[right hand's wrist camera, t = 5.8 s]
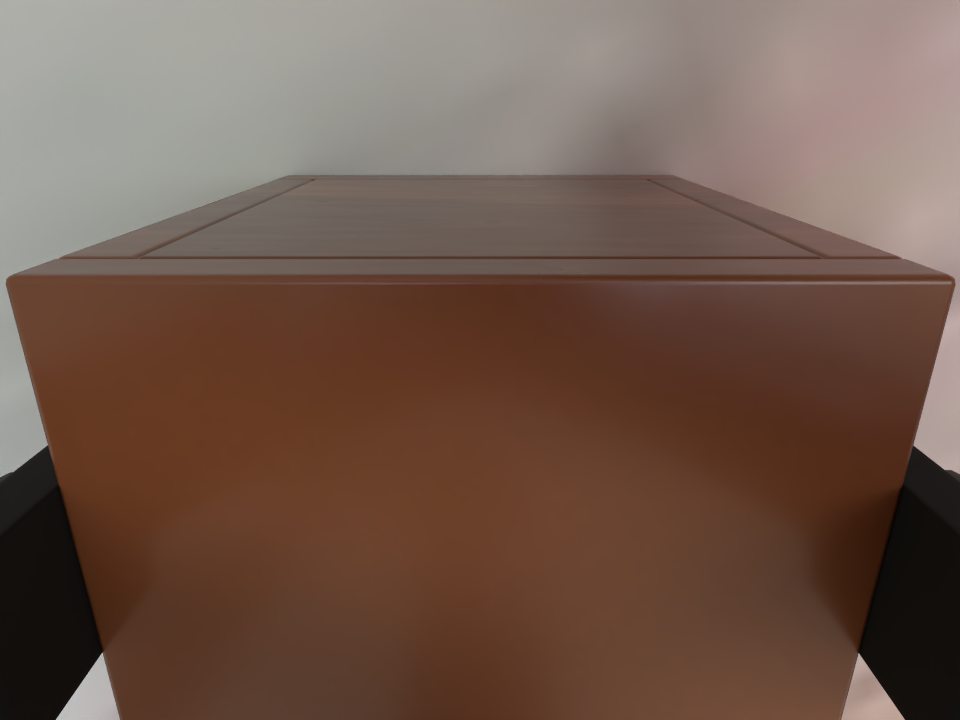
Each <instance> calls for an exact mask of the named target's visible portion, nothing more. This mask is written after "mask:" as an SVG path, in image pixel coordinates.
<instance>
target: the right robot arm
mask: <svg viewBox="0 0 960 720" xmlns="http://www.w3.org/2000/svg"><path fill="white" fill-rule="evenodd" d="M101 653H102V648H101V645H100V641H99V637H98V633H97V629H96V625H95V622H94V618H93V614H92V610H91V606H90V603H89V599H88V595H87V591H86V587H85V584H84V580H83V576H82V572H81V568H80V565H79V561H78V557H77V553H76V549H75V546H74V542H73V538H72V534H71V530H70V526H69V523H68V519H67V515H66V511H65V507H64V504H63V500H62V496H61V492H60V488H59V485H58V481H57V477H56V473H55V469H54V466H53V462H52V458H51V454H50V450H49V446H46V447H45V448H44V449H43V450H41V451H40V452H39V453H37V454H36V455H35V456H34V457H32V458H31V459H30V460H29V461H27V462H26V463H25V464H23V465H22V466H21V467H20V468H18V469H17V470H16V471H14V472H10V473H8V474H6V475H4V476H2V477H0V720H56V718H57V717H58V715H59V714H60V713H61V711H62V710H63V708H64V707H65V705H66V704H67V702H68V701H69V700H70V698H71V697H72V695H73V694H74V692H75V691H76V690H77V688H78V687H79V685H80V684H81V682H82V681H83V679H84V678H85V677H86V675H87V674H88V672H89V671H90V669H91V668H92V666H93V665H94V664H95V662H96V661H97V659H98V658H99V656H100V655H101ZM859 654H860V655H861V657H862V658H863V660H864V661H865V662H866V664H867V665H868V667H869V668H870V670H871V671H872V673H873V674H874V675H875V677H876V678H877V680H878V681H879V683H880V684H881V686H882V687H883V688H884V690H885V691H886V693H887V694H888V696H889V697H890V699H891V700H892V701H893V703H894V704H895V706H896V707H897V709H898V710H899V712H900V713H901V714H902V716H903V717H904V719H905V720H960V474H958V473H956V472H954V471H952V470H944V469H943V468H941V467H940V466H939V465H937V464H936V463H935V462H934V461H932V460H931V459H930V458H928V457H927V456H926V455H925V454H923V453H922V452H921V451H920V450H918V449H917V448H916V447H914V446H913V448H912V452H911V455H910V459H909V463H908V467H907V471H906V474H905V478H904V482H903V486H902V490H901V493H900V497H899V501H898V505H897V509H896V512H895V516H894V520H893V524H892V528H891V531H890V535H889V539H888V543H887V547H886V550H885V554H884V558H883V562H882V566H881V569H880V573H879V577H878V581H877V585H876V588H875V592H874V596H873V600H872V604H871V607H870V611H869V615H868V619H867V623H866V626H865V630H864V634H863V638H862V642H861V645H860V649H859Z"/></svg>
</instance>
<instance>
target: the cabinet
mask: <svg viewBox="0 0 960 720" xmlns="http://www.w3.org/2000/svg"><path fill="white" fill-rule="evenodd" d="M6 287H7V290H8V294H9V298H10V302H11V306H12V309H13V313H14V317H15V321H16V325H17V328H18V332H19V336H20V340H21V344H22V347H23V351H24V355H25V359H26V363H27V366H28V370H29V374H30V378H31V382H32V386H33V389H34V393H35V397H36V401H37V405H38V408H39V412H40V416H41V420H42V424H43V427H44V431H45V435H46V439H47V443H48V446H49V450H50V454H51V458H52V462H53V466H54V469H55V473H56V477H57V481H58V485H59V488H60V492H61V496H62V500H63V504H64V507H65V511H66V515H67V519H68V523H69V526H70V530H71V534H72V538H73V542H74V546H75V549H76V553H77V557H78V561H79V565H80V568H81V572H82V576H83V580H84V584H85V587H86V591H87V595H88V599H89V603H90V606H91V610H92V614H93V618H94V622H95V625H96V629H97V633H98V637H99V641H100V645H101V648H102V652H103V656H104V660H105V664H106V667H107V671H108V675H109V679H110V683H111V686H112V690H113V694H114V698H115V702H116V705H117V709H118V713H119V717H120V720H841V718H842V714H843V710H844V706H845V702H846V699H847V695H848V691H849V687H850V683H851V680H852V676H853V672H854V668H855V664H856V661H857V657H858V653H859V649H860V645H861V642H862V638H863V634H864V630H865V626H866V623H867V619H868V615H869V611H870V607H871V604H872V600H873V596H874V592H875V588H876V585H877V581H878V577H879V573H880V569H881V566H882V562H883V558H884V554H885V550H886V547H887V543H888V539H889V535H890V531H891V528H892V524H893V520H894V516H895V512H896V509H897V505H898V501H899V497H900V493H901V490H902V486H903V482H904V478H905V474H906V471H907V467H908V463H909V459H910V455H911V452H912V448H913V444H914V440H915V436H916V432H917V429H918V425H919V421H920V417H921V413H922V410H923V406H924V402H925V398H926V394H927V391H928V387H929V383H930V379H931V375H932V372H933V368H934V364H935V360H936V356H937V353H938V349H939V345H940V341H941V337H942V334H943V330H944V326H945V322H946V318H947V315H948V311H949V307H950V303H951V299H952V296H953V292H954V288H955V279H954V278H953V277H952V276H950V275H948V274H945V273H942V272H939V271H937V270H934V269H931V268H928V267H926V266H923V265H920V264H917V263H914V262H912V261H909V260H906V259H902V258H900V257H898V256H896V255H893V254H890V253H887V252H885V251H882V250H879V249H876V248H873V247H871V246H868V245H865V244H862V243H860V242H857V241H854V240H851V239H848V238H846V237H843V236H840V235H837V234H834V233H832V232H829V231H826V230H823V229H821V228H818V227H815V226H812V225H809V224H807V223H804V222H801V221H798V220H795V219H793V218H790V217H787V216H784V215H781V214H779V213H776V212H773V211H770V210H768V209H765V208H762V207H759V206H756V205H754V204H751V203H748V202H745V201H742V200H740V199H737V198H734V197H731V196H729V195H726V194H723V193H720V192H717V191H715V190H712V189H709V188H706V187H703V186H701V185H698V184H695V183H692V182H689V181H687V180H684V179H681V178H679V177H676V176H286V177H283V178H280V179H277V180H275V181H272V182H269V183H266V184H263V185H261V186H258V187H255V188H252V189H249V190H247V191H244V192H241V193H238V194H235V195H233V196H230V197H227V198H224V199H222V200H219V201H216V202H213V203H210V204H208V205H205V206H202V207H199V208H196V209H194V210H191V211H188V212H185V213H182V214H180V215H177V216H174V217H171V218H168V219H166V220H163V221H160V222H157V223H154V224H152V225H149V226H146V227H143V228H141V229H138V230H135V231H132V232H129V233H127V234H124V235H121V236H118V237H115V238H113V239H110V240H107V241H104V242H101V243H99V244H96V245H93V246H90V247H87V248H85V249H82V250H79V251H76V252H74V253H71V254H68V255H65V256H63V257H60V258H59V259H55V260H52V261H49V262H47V263H44V264H41V265H38V266H36V267H33V268H30V269H27V270H24V271H22V272H19V273H16V274H13V275H11V276H9V277H8V278H7V280H6Z"/></svg>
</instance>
